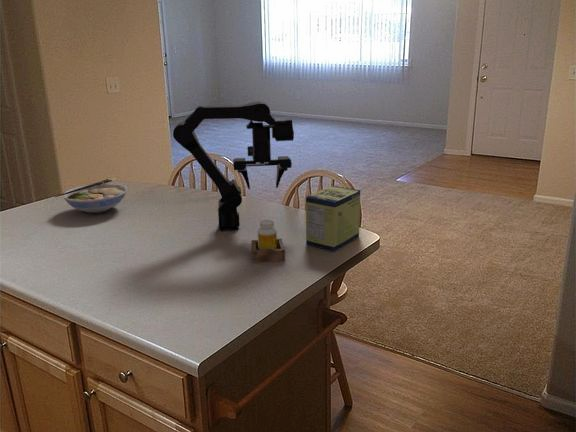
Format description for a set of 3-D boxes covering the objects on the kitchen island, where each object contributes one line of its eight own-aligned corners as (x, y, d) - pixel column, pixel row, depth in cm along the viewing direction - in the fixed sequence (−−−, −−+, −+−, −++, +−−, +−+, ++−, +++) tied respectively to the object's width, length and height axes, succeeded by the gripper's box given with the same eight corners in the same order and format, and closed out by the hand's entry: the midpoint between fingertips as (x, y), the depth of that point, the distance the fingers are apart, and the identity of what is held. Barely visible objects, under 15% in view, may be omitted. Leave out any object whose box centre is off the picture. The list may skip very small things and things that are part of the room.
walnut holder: (253, 262, 150) (253, 251, 148) (251, 250, 158) (251, 240, 157) (285, 260, 151) (285, 249, 150) (281, 248, 159) (281, 238, 158)
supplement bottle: (257, 250, 156) (256, 219, 153) (274, 248, 157) (274, 218, 154) (260, 257, 151) (259, 225, 148) (278, 255, 152) (277, 224, 149)
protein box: (359, 236, 168) (361, 189, 163) (334, 252, 156) (335, 202, 151) (331, 230, 174) (332, 184, 169) (305, 244, 162) (305, 196, 157)
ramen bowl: (90, 225, 181) (87, 202, 179) (49, 214, 193) (45, 193, 190) (144, 206, 201) (142, 185, 199) (104, 197, 213) (101, 177, 210)
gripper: (287, 136, 178) (287, 180, 183) (231, 138, 176) (233, 183, 181) (291, 142, 168) (292, 189, 173) (232, 144, 166) (235, 192, 171)
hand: (262, 188), depth 175 cm, fingers open, 9 cm apart
